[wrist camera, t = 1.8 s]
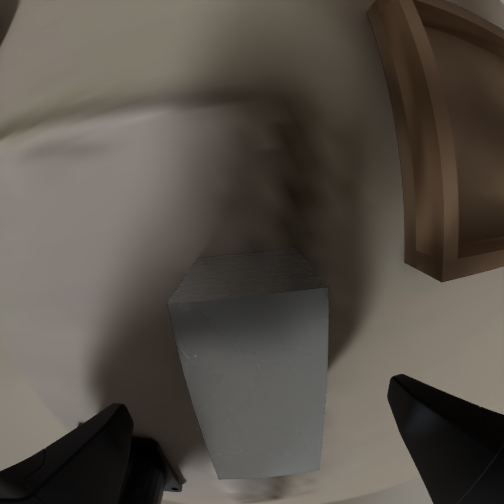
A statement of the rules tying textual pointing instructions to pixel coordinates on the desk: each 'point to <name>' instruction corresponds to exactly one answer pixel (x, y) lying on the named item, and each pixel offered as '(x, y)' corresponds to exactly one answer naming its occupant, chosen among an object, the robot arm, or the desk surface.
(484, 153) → the walnut tray
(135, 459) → the robot arm
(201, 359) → the aluminium block
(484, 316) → the desk surface
